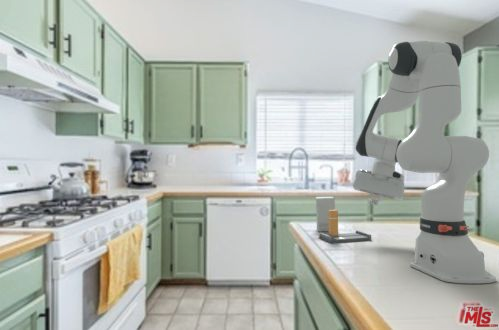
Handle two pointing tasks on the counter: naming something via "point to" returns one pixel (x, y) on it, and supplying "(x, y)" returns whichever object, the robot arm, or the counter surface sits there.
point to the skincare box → (323, 212)
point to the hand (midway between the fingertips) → (373, 204)
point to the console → (346, 237)
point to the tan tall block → (333, 223)
